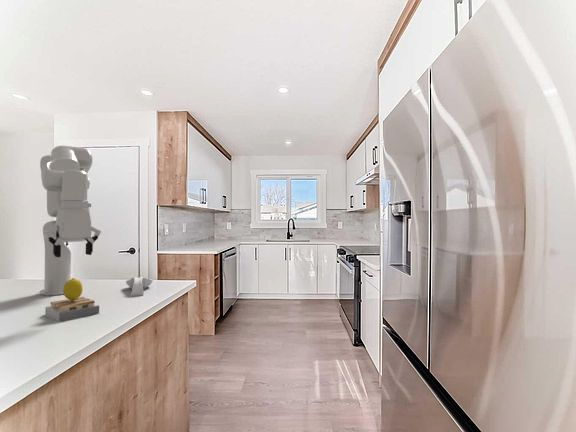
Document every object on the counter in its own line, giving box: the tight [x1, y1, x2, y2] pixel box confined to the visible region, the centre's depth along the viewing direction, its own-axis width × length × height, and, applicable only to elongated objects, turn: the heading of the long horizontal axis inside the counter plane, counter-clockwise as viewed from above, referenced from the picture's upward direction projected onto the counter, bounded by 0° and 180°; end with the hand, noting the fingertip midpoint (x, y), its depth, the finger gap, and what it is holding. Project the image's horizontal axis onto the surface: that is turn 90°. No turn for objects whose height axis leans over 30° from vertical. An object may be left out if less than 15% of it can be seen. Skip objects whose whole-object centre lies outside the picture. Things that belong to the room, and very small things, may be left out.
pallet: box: [50, 296, 96, 312], centre depth 116 cm, size 10×10×2 cm
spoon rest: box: [125, 276, 154, 297], centre depth 154 cm, size 24×12×7 cm, turn 22°
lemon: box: [63, 277, 83, 301], centre depth 116 cm, size 6×6×8 cm
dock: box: [44, 303, 100, 322], centre depth 115 cm, size 12×12×3 cm
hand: (73, 255), depth 116 cm, fingers open, 9 cm apart
